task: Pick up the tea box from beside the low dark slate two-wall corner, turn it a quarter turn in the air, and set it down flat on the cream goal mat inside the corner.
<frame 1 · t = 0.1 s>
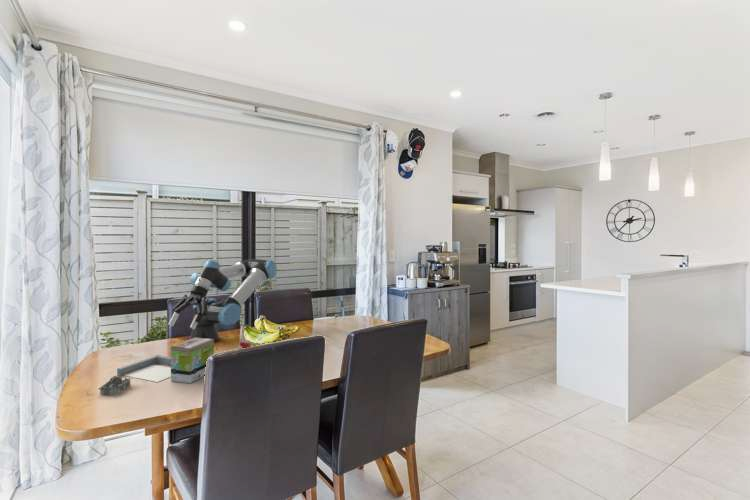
hand: (181, 326, 183), 15 cm above the table, tool tilted 35°, fingers open, 13 cm apart
egg carton: (116, 390, 146), on the table
tea box: (193, 376, 162), on the table
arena: (155, 373, 164), on the table
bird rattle: (243, 364, 177), on the table
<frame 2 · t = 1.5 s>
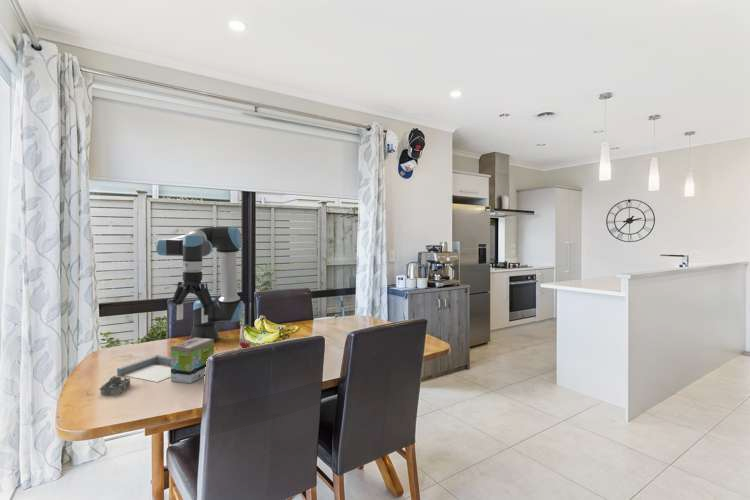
hand: (192, 321, 161), 24 cm above the table, tool pointing down, fingers open, 13 cm apart
nothing on the table moved.
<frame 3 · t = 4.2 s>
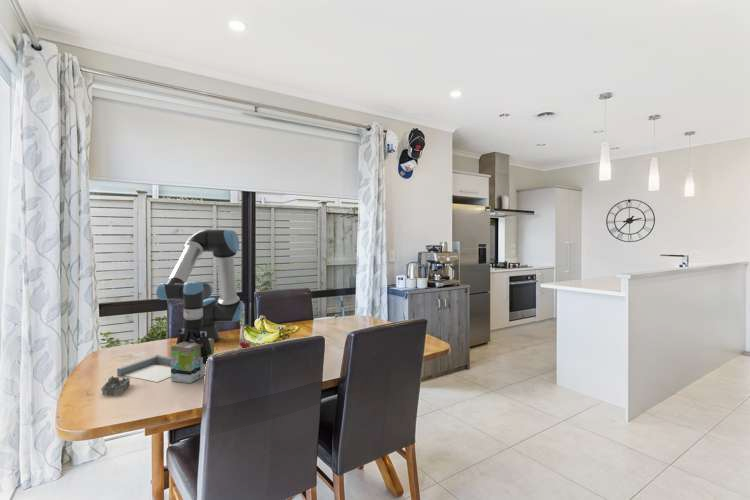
hand: (193, 369, 162), 3 cm above the table, tool pointing down, fingers closed on tea box, 10 cm apart
tea box: (193, 376, 162), on the table, touching gripper
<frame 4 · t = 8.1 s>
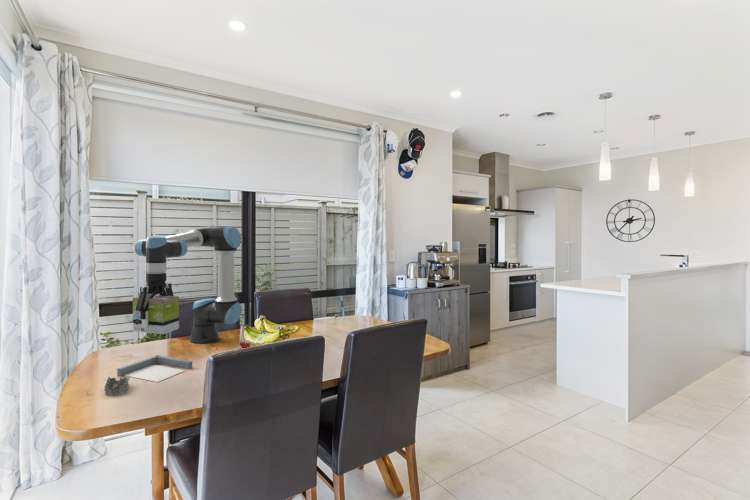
hand: (156, 323, 163), 22 cm above the table, tool pointing down, fingers closed on tea box, 10 cm apart
tea box: (156, 330, 163), point 19 cm above the table, touching gripper
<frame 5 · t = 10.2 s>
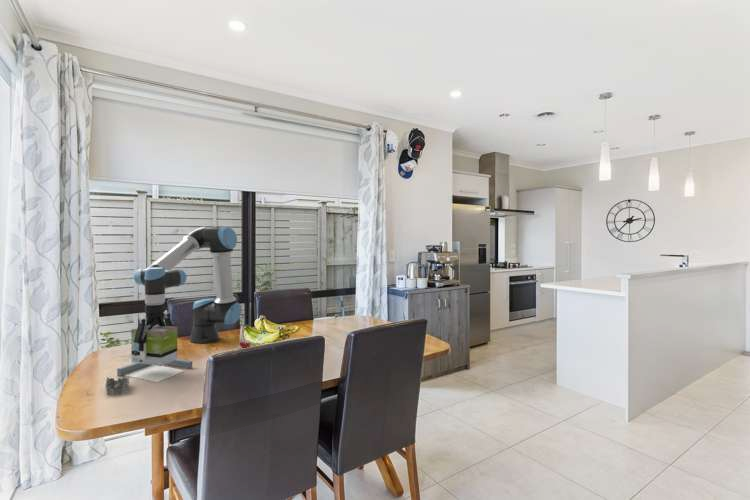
hand: (154, 354, 163), 8 cm above the table, tool pointing down, fingers closed on tea box, 10 cm apart
tea box: (154, 361, 163), point 5 cm above the table, touching gripper
when the fingers open (4 cm above the table, at t = 11.9 s): tea box drops 1 cm, resting on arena.
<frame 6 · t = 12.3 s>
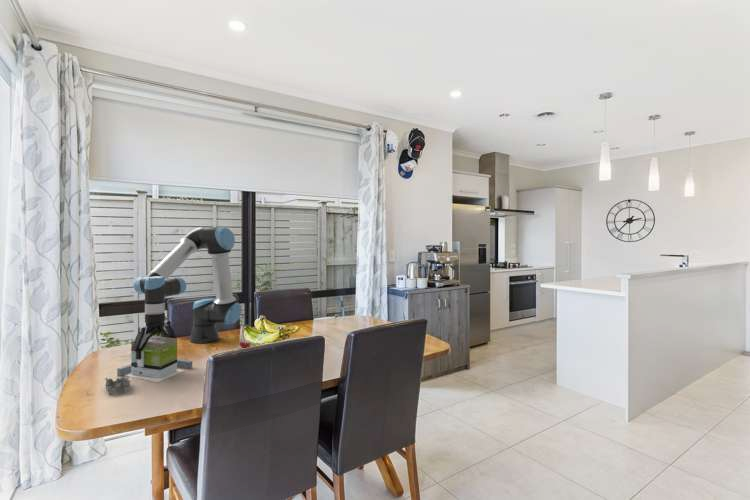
hand: (155, 361, 163), 5 cm above the table, tool pointing down, fingers open, 13 cm apart
tea box: (154, 373, 164), resting on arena
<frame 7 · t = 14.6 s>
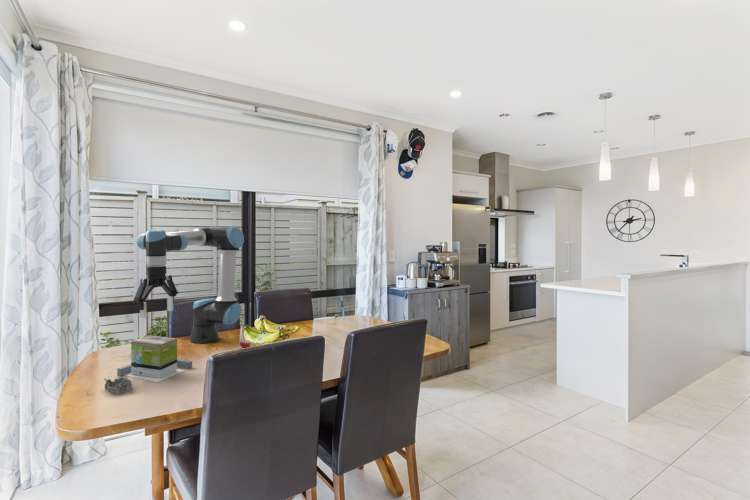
hand: (157, 313, 166), 25 cm above the table, tool pointing down, fingers open, 13 cm apart
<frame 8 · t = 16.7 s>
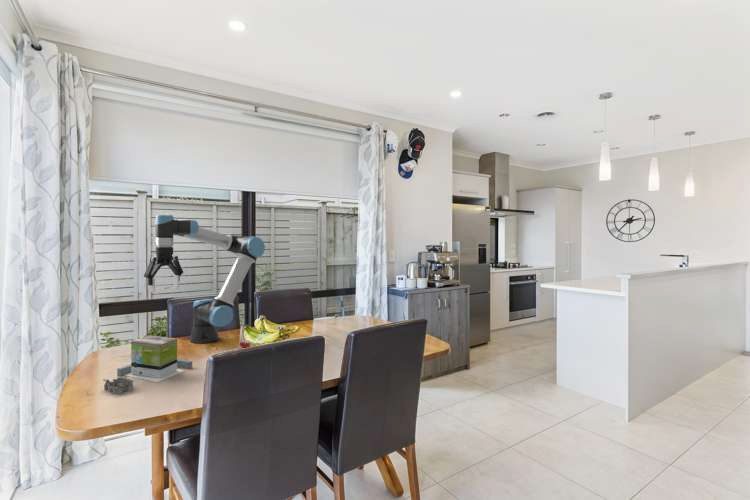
hand: (164, 290, 184), 33 cm above the table, tool pointing down, fingers open, 13 cm apart
at the end: tea box inside the target area (0.2 cm from its centre), resting on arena; tea box tilted 0°; tea box touching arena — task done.
